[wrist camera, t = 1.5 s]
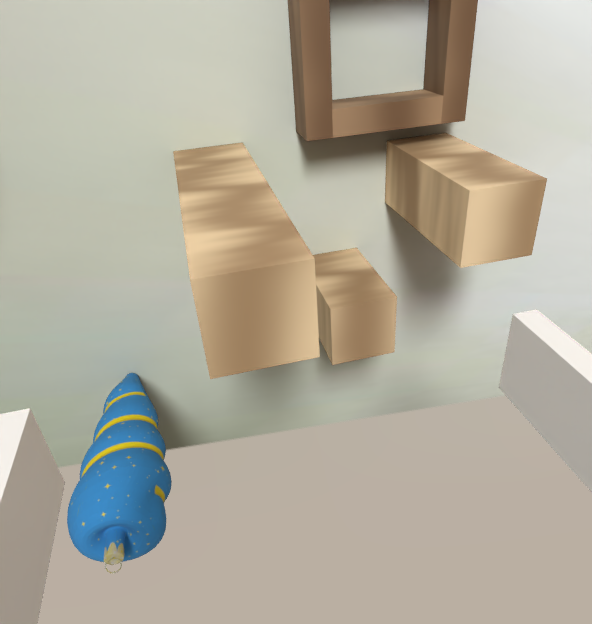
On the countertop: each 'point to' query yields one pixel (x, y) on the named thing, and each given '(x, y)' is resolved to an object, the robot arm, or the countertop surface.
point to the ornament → (121, 481)
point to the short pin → (353, 307)
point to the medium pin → (464, 198)
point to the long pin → (244, 264)
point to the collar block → (385, 107)
